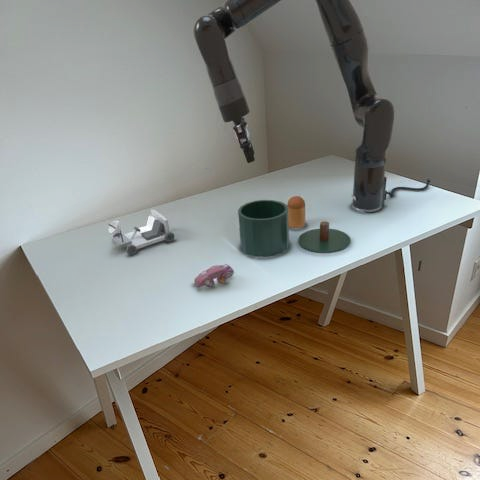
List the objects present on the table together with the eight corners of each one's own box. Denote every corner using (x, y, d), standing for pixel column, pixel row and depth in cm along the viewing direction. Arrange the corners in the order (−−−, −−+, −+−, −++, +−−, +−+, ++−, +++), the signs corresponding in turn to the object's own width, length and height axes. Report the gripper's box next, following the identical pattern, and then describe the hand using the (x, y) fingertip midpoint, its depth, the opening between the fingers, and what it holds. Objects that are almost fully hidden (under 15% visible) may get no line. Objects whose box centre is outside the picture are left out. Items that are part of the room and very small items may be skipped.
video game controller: (199, 296, 124) (201, 280, 118) (192, 282, 125) (194, 266, 119) (234, 285, 127) (237, 269, 121) (226, 271, 129) (229, 255, 123)
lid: (328, 227, 147) (329, 208, 144) (360, 245, 136) (362, 225, 133) (288, 240, 142) (288, 221, 138) (318, 260, 131) (319, 239, 128)
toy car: (112, 228, 134) (97, 215, 142) (119, 259, 140) (105, 245, 148) (170, 210, 142) (153, 198, 150) (175, 240, 147) (158, 228, 155)
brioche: (298, 221, 152) (298, 191, 147) (308, 226, 148) (308, 197, 143) (284, 225, 150) (283, 196, 145) (293, 231, 146) (293, 201, 141)
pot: (272, 232, 147) (270, 196, 140) (297, 249, 137) (297, 211, 130) (232, 244, 142) (229, 207, 136) (256, 263, 132) (254, 224, 126)
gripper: (243, 97, 122) (264, 159, 130) (244, 91, 135) (263, 149, 142) (216, 108, 124) (238, 169, 131) (219, 102, 136) (239, 158, 144)
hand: (251, 158), depth 137 cm, fingers open, 8 cm apart
